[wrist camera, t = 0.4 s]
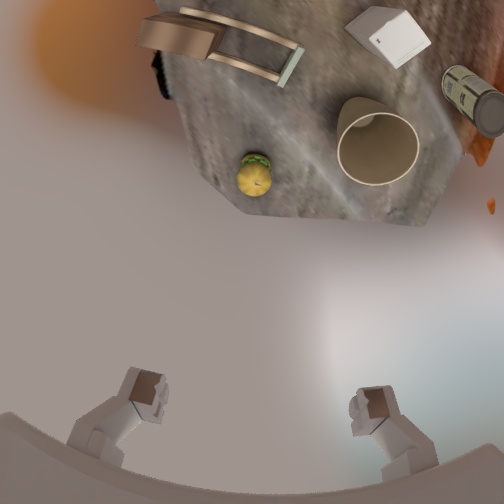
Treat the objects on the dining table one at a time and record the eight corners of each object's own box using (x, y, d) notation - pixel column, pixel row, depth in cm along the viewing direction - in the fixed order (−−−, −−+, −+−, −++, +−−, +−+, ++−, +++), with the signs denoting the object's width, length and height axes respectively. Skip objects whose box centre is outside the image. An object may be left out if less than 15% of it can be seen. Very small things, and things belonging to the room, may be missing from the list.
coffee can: (479, 98, 36) (513, 131, 28) (447, 109, 41) (478, 144, 33) (469, 60, 29) (508, 87, 21) (435, 70, 35) (470, 98, 27)
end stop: (277, 78, 44) (276, 85, 42) (297, 43, 37) (298, 46, 35) (282, 81, 45) (282, 87, 42) (303, 45, 38) (305, 49, 35)
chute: (171, 45, 38) (167, 47, 37) (184, 6, 31) (181, 7, 30) (277, 79, 44) (276, 82, 43) (297, 43, 37) (298, 44, 36)
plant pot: (376, 147, 54) (396, 193, 45) (316, 130, 53) (325, 175, 44) (400, 94, 42) (433, 131, 33) (335, 70, 41) (355, 100, 32)
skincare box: (365, 49, 36) (395, 72, 27) (341, 25, 33) (365, 38, 24) (395, 28, 30) (434, 45, 21) (371, 2, 27) (406, 9, 18)
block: (160, 33, 36) (135, 45, 30) (167, 12, 32) (142, 19, 26) (217, 47, 39) (204, 60, 33) (227, 26, 35) (214, 33, 29)
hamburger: (237, 166, 64) (231, 200, 57) (244, 142, 58) (237, 175, 51) (268, 173, 65) (266, 208, 58) (277, 151, 59) (276, 184, 52)
